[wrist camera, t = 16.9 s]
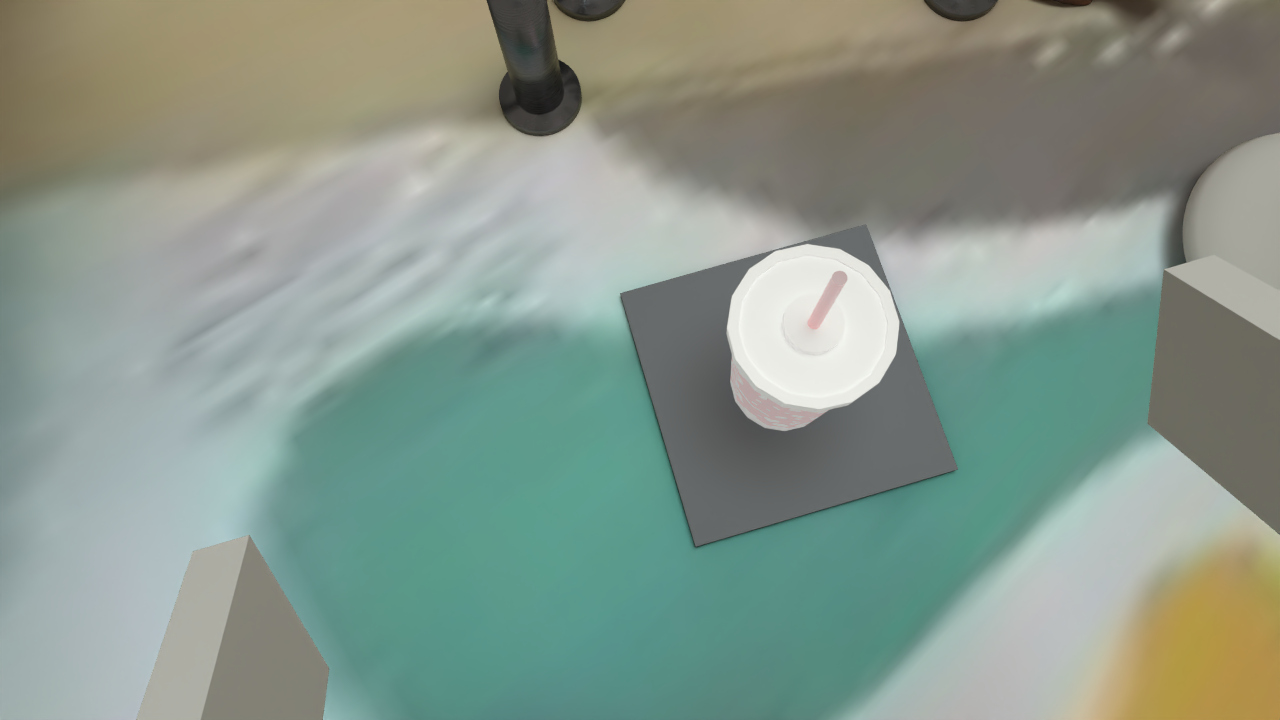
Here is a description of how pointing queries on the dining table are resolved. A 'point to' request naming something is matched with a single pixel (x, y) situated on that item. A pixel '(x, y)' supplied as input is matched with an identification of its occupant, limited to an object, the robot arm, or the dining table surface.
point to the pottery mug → (1075, 2)
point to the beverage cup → (808, 335)
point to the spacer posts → (549, 89)
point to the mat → (761, 457)
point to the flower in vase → (1239, 210)
